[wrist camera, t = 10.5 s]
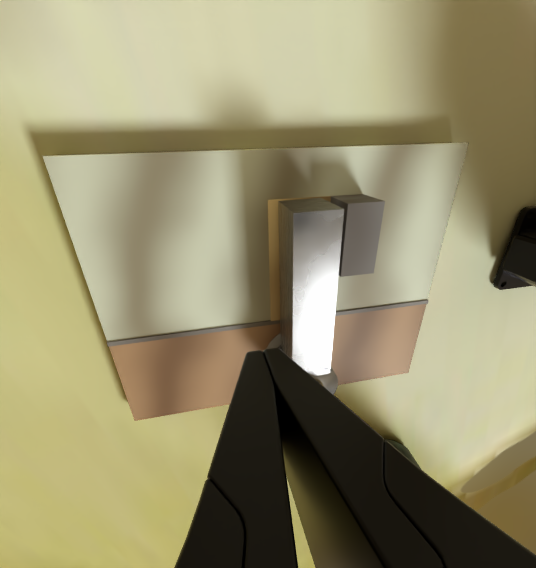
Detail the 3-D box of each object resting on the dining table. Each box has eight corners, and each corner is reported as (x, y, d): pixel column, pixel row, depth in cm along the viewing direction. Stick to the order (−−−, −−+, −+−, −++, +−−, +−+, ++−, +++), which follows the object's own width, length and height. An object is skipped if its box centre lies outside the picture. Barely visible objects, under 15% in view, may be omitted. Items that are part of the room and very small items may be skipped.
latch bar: (319, 371, 21) (339, 411, 18) (273, 379, 21) (285, 421, 18) (331, 197, 16) (362, 210, 12) (267, 201, 15) (283, 217, 12)
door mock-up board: (452, 142, 17) (506, 142, 14) (399, 362, 25) (426, 393, 22) (55, 155, 14) (11, 158, 11) (138, 407, 22) (126, 451, 19)
